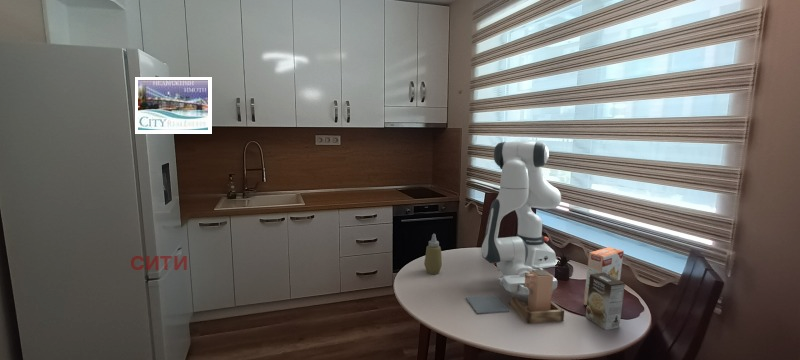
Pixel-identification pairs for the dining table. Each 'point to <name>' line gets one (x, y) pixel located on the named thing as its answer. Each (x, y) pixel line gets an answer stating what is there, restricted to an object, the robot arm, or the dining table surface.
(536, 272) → the jug
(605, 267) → the cracker box
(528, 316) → the tray
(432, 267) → the squeeze bottle
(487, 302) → the coaster
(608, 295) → the coffee box
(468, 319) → the dining table surface
